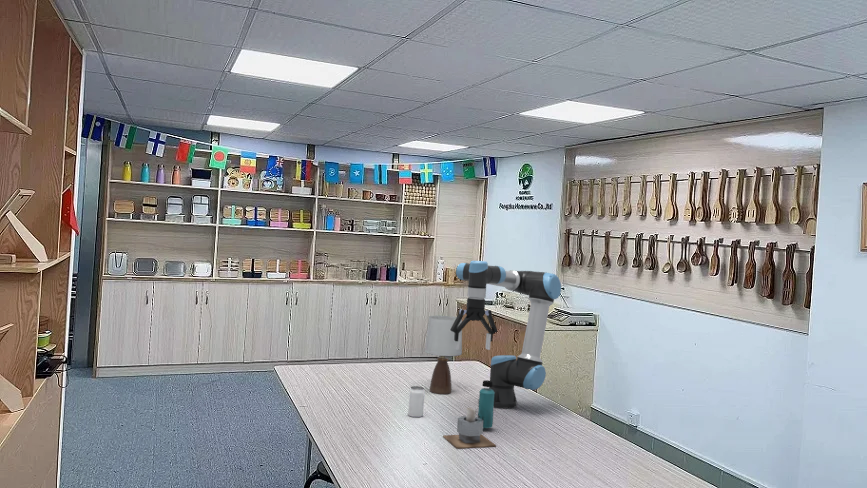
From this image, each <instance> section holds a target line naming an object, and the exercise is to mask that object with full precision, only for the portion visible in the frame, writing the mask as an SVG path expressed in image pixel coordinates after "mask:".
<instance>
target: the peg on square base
mask: <svg viewBox="0 0 867 488" xmlns="http://www.w3.org/2000/svg"><path fill="white" fill-rule="evenodd" d="M476 412H477V409H476V408H474V407H467V408H466V415H465V416H466V421H470V422H473V421H475V417H476ZM442 438H443V439H444V440H445V441H447V442H448V443H449V444H451V445H452V447H454V448H455V449H456V450H460V449H461V450H463V449H481V448H482V449H483V448H496V447H497V445H496V444H495V443H494V442H492V440H490V439H488V438H487V437H486V436H484V435H483V433H482V434H481V435H480V436H466V435H461V434H460V433H458V434H448V435H447V434H446V435H442Z"/></svg>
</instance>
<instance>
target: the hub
mask: <svg viewBox="0 0 867 488" xmlns="http://www.w3.org/2000/svg"><path fill="white" fill-rule="evenodd" d="M483 431H484V428H483V420H482V419H481V418H479V417H478V416H475V421H473V422H470V421H466V415H463V416H461V415H460V417H458V418H457V427H456V432H457V433H458V434H459V433H460V434H461V435H466V436H480V435H481V434H482V435H483V433H484V432H483Z"/></svg>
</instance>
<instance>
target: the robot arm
mask: <svg viewBox="0 0 867 488" xmlns="http://www.w3.org/2000/svg"><path fill="white" fill-rule="evenodd" d="M455 275H456V277H457V278H458V279H459V280H461V281H468V285H467V297H468V298H466V309H462V308H459V310H458V315H457V316H456V317H457V318H456V320H455V322H454V324H453V325H452V327H451V329H450V330H451V331H452V332H454V333H455V335H454V340H455V341H456V349H457V350H460V339H461V334H460V333H459V332H460V331H461V330H462V331H463V329H464V328H465V326H467V324H468V323H469V322H471V321H474V322H475V321H477V322H481V324H482V325H483V326H484V329H485V330H486V331H487V332H488V333H487V332H486V338H485V349H486V350H487V351H490V350H491V342H493V337H494V334H496V333H498V329H497V326H496V324H495V320H494V318H493V315H492V314H493V313H492V312H493V311H492V310H490V309H486V299H485V298H486V297H487V296H486V294H487V285H491V286H497V287H503V288H505V289H506V290H508V291H511V292H515V293H518V294H521V295H525V296H528V300H529V302H530V308H529V313H528V318H527V324H526V328H525V334H524V339H523V344H522V350H521V353H520V354H519V355H517V356H516V355H511V354H510V355H508V354H507V355H506V354H504V355H503V354H502V355H501V354H500V355H495V356H492V357H491V362H490V373H489V381H492V385H493V386H492V387H488V388H490V389H492V390H493V391H494V392H495V394H494V407H493V408H499V409H513V408H516V407H517V405H518V403H517V401H518V400H517V397H516V393H515V387H517V388H522V389H525V390H531V391H535V390H539V388H540V387H541V386H542V385H543V384H544V382H545V380H546V376H547V372H546V368H545V366H543V362H544V361H543V360H542V358H541V354H542V350H543V349H542V348H543V343H544V338H545V332H546V328H547V327H546V326H547V322H548V315H549V311H550V307H551V306H552V305H553V304H554V302H555V300H557V299H559V297H560V296H561V293H562V292H561V291H562V284H561V283H562V282H561V281H560V278H559V276H558V275H557V274H555V273H551V272H547V271H545V272H543V271H532V270H513V269H512V270H506V269H505V268H504V267H503V266H500V265H489V263H488V261H485V260H484V261H483V260H471V261H470V262H469V263H468V262H460V263H459V264H458V265H457V267H456V271H455ZM485 309H486V310H485ZM465 314H466V316H465V317H464V315H465ZM484 315H485V316H486V317H487V320H488V322H487V320H486V319H485V317H484ZM463 318H464V319H463ZM461 319H462V322H461V324H460V325H459V323H460V321H461ZM488 323H489V324H488ZM458 325H459V326H458Z"/></svg>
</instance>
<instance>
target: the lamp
mask: <svg viewBox="0 0 867 488" xmlns="http://www.w3.org/2000/svg"><path fill="white" fill-rule="evenodd" d="M456 318H457V316H449V315H430V316H428V323H427V329H426V338H425V345H424V353H426V354H429V355H433V356H437V358H436V361H437V362H436V364H435V365H434V366H435V367H434V368H433V372H432V376H431V379H430V383H429V385H430V386H429V392H431V393H433V394H436V395H437V394H439V395H449V394H451V393H452V390H453V389H452V388H453V387H452V376H451V369H450V365H449V363H448V361H449V358H448V357H458V356H462V353H463V351H462V350H463V329H462V330H461V331H460V332H459V333H460V334H461V339H460V350H457V349H456V341H455V340H454V335H455V333H454V332H452V331H451V330H450V329H451V327H452V325H453V324H454V322H455V320H456ZM462 321H463V318H462V319H461V321H460V323H459V325H460V324H461V322H462ZM459 325H458V326H459ZM438 356H439V357H438Z"/></svg>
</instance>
